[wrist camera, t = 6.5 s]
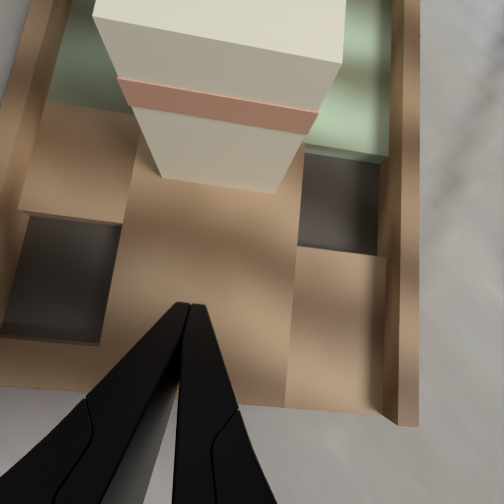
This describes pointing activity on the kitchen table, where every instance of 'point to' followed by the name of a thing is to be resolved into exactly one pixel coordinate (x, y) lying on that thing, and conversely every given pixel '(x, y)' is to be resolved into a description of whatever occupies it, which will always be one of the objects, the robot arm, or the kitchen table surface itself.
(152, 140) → the cream block
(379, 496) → the kitchen table surface
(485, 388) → the kitchen table surface
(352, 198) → the tray
